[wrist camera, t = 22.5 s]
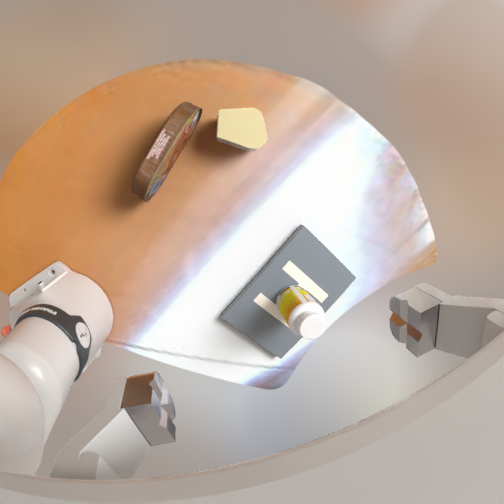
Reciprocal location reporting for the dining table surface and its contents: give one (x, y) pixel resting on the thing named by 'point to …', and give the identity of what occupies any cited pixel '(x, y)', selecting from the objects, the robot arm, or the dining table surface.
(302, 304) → the supplement bottle
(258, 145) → the pale yellow block
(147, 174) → the tin
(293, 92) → the dining table surface
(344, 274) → the gray board
